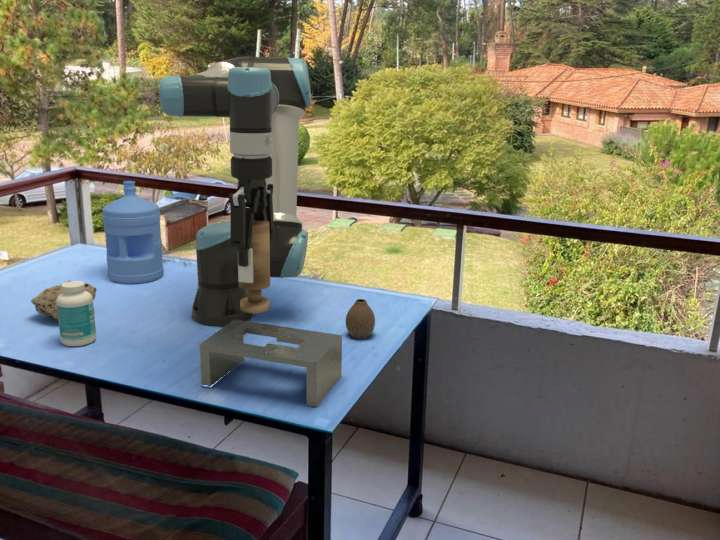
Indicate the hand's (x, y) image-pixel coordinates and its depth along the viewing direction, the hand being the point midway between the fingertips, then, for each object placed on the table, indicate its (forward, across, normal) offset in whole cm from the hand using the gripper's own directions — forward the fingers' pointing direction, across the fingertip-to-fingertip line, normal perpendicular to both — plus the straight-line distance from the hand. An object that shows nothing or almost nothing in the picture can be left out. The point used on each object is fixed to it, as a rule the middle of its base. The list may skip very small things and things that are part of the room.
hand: (254, 276), depth 128 cm
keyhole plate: (+21, 0, -4) cm, 22 cm away
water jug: (+22, +48, +62) cm, 82 cm away
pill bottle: (+22, +3, +45) cm, 50 cm away
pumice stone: (+22, +15, +58) cm, 64 cm away
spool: (+6, 0, 0) cm, 6 cm away
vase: (+22, +29, -13) cm, 38 cm away
